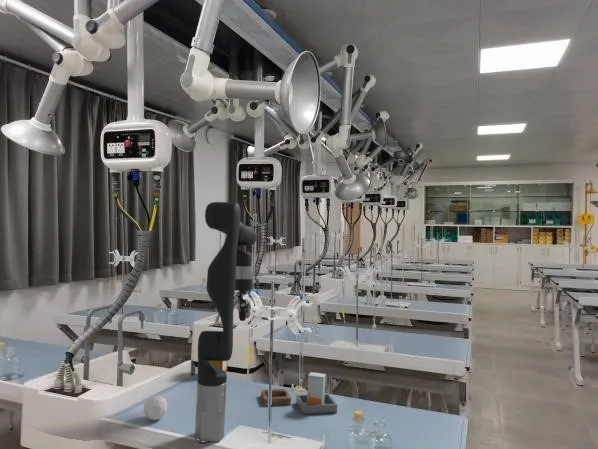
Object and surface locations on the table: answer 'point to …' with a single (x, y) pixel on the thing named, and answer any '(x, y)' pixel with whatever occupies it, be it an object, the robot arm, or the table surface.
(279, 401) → the socket block
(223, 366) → the baking soda box
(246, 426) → the table surface
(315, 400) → the skincare box
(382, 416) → the table surface
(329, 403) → the tray
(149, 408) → the geometric ball
